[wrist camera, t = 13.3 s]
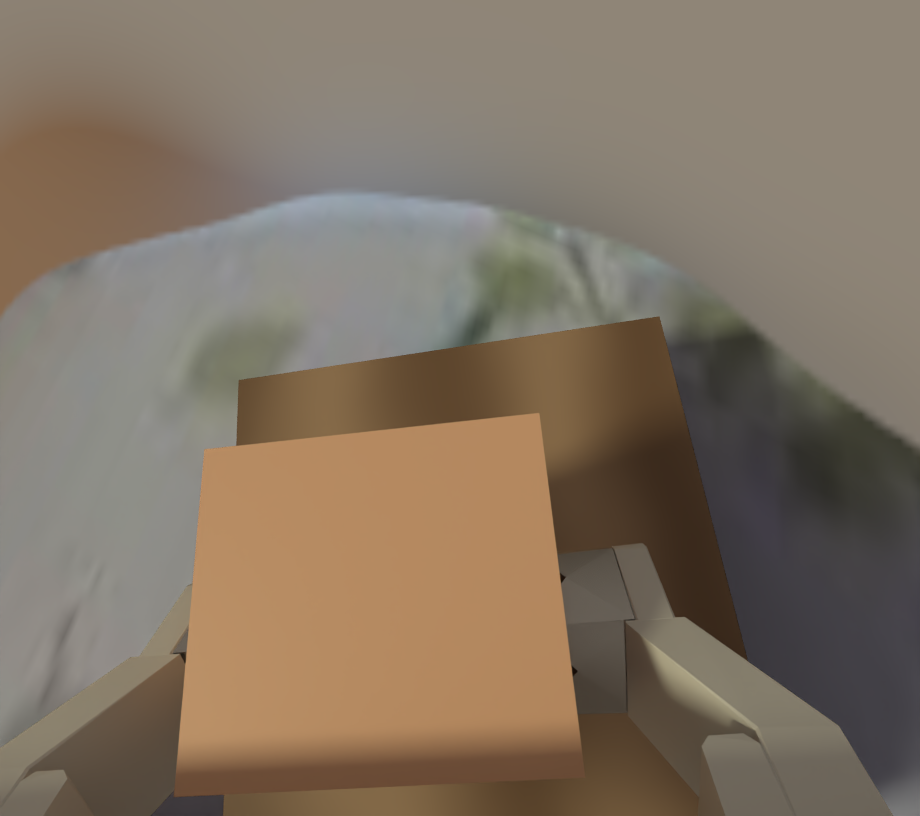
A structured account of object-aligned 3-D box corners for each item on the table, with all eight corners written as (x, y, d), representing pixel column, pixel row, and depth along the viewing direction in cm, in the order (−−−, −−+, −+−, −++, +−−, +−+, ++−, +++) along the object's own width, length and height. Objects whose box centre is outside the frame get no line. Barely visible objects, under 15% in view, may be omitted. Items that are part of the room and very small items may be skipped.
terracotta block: (371, 698, 14) (173, 797, 6) (369, 530, 15) (204, 448, 8) (559, 686, 13) (585, 777, 6) (538, 515, 15) (539, 413, 7)
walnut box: (310, 880, 19) (216, 989, 14) (306, 433, 25) (238, 380, 19) (735, 849, 18) (822, 954, 13) (631, 386, 24) (659, 316, 18)
